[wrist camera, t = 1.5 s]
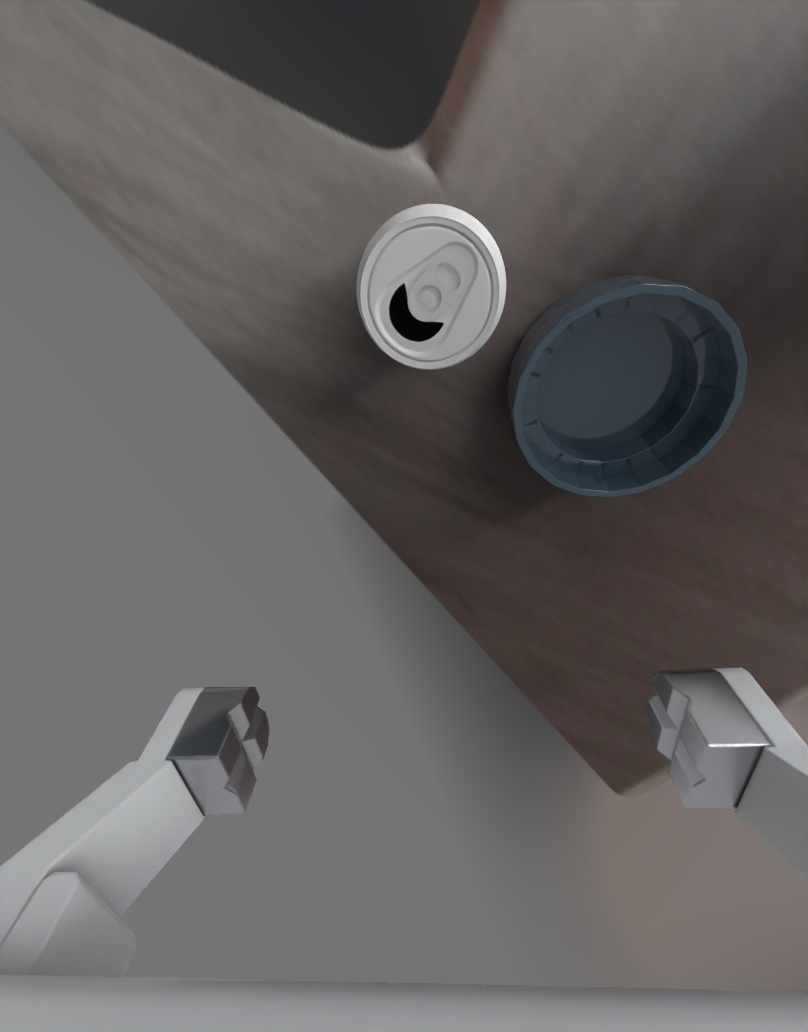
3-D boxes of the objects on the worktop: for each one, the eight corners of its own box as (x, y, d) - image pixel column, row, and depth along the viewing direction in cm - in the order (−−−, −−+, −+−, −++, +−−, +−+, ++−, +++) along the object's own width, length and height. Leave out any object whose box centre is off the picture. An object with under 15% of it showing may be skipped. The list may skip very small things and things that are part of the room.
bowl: (718, 246, 26) (762, 252, 23) (701, 447, 33) (733, 477, 29) (493, 306, 29) (499, 320, 25) (519, 480, 36) (527, 511, 32)
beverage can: (365, 273, 29) (318, 305, 19) (435, 178, 26) (425, 157, 16) (438, 344, 31) (431, 408, 21) (511, 264, 28) (544, 293, 18)
